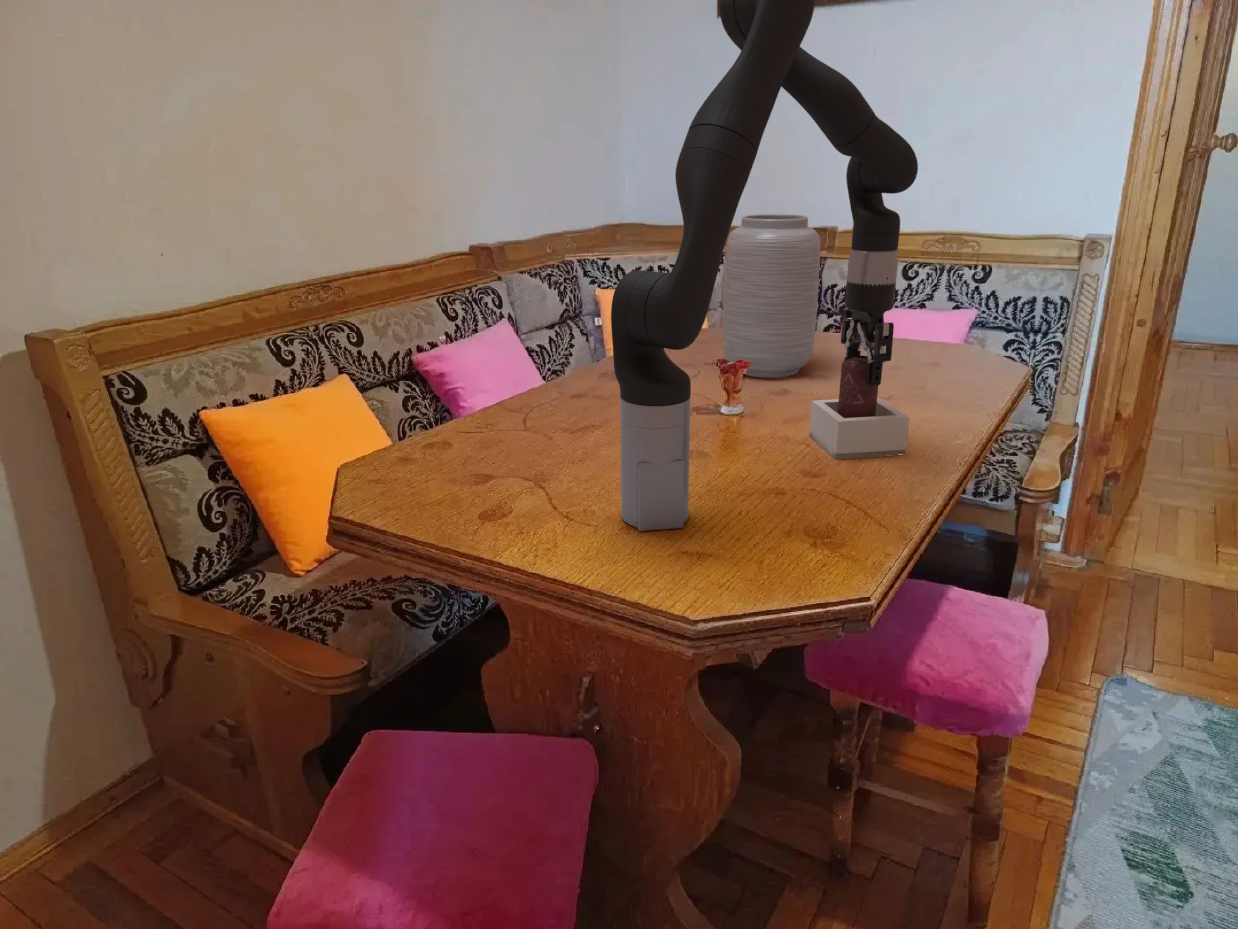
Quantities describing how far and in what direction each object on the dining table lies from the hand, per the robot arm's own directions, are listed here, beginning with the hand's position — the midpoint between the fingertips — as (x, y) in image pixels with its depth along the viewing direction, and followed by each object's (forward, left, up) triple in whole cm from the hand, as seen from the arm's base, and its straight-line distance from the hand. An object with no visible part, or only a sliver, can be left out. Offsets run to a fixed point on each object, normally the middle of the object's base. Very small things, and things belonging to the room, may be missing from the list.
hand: (862, 378), depth 139 cm
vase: (+52, -1, -12) cm, 53 cm away
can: (0, 0, -11) cm, 11 cm away
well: (0, 0, -12) cm, 12 cm away
